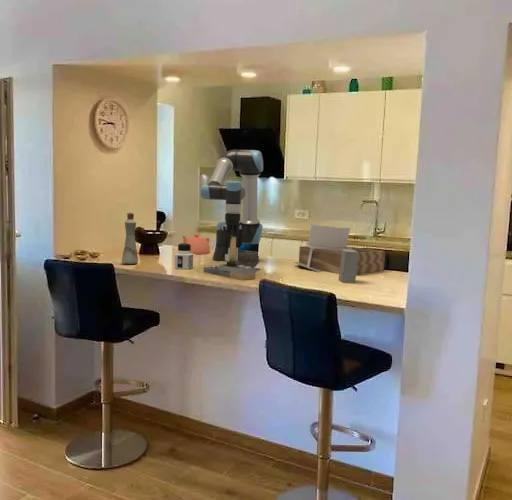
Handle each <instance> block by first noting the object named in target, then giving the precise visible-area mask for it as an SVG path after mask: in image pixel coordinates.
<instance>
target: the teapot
mask: <svg viewBox="0 0 512 500" xmlns="http://www.w3.org/2000/svg"><path fill="white" fill-rule="evenodd" d="M181 237H182V239H183V242H182V243H186V244H190V245H191V252H190V253H193V254H196V256H200V255H201V254H203V255H208V253H209V254H211V248H210V240H211V239H210V237H206V236H205V237H203V236H200V234H199V233H194V234H193V236H188V237H187V236H185V235H181Z"/></svg>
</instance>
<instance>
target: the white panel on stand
mask: <svg viewBox="0 0 512 500" xmlns="http://www.w3.org/2000/svg"><path fill="white" fill-rule="evenodd" d="M350 232H351V227H336V226H329V225H320V224H311V225H310V230H309V236H308V242H306V243H305V246H307V247H309V248H310V252H309V258H308V263H307V265H305V264H302V263H299V261H297V262H295V261H294V262H292V263H293V264H295V265H297V266H299V265H301V266H300V267H302V266H303V267H306V268H305V269H307V268H309V269H308V270H312V271H314V272H317V273H321V272H323V271H321V270H318V269H316V268H313V267H310V262H311V256H312V251H313V250H315V249H324V250H331V251H342V249H349V250H352V248H351V247H352V246H348V243H349V242H348V241H349V236H350ZM347 246H348V247H347Z"/></svg>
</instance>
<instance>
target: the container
mask: <svg viewBox="0 0 512 500" xmlns="http://www.w3.org/2000/svg"><path fill="white" fill-rule="evenodd" d="M190 252H191V245H190V244H186V243H183V242H182V243H178V245H177V253H175V254H174V269H175V270H176V269H177V270H178V269H179V270H190V268H191V269H192V268H194V255H193V253H190Z"/></svg>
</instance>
